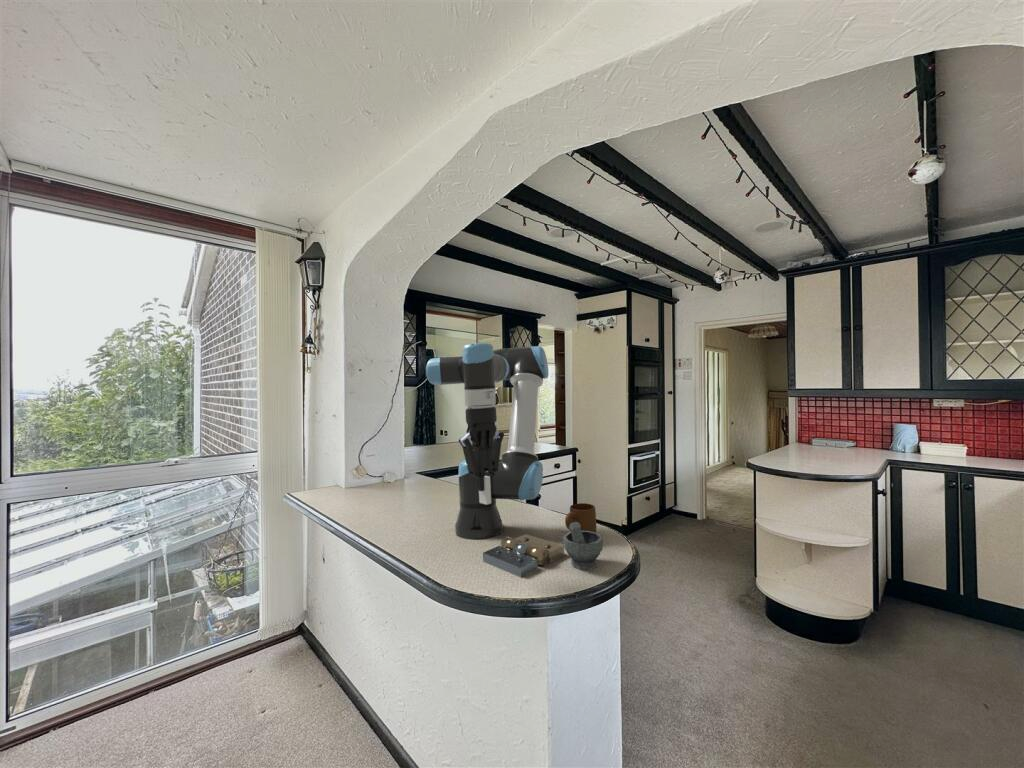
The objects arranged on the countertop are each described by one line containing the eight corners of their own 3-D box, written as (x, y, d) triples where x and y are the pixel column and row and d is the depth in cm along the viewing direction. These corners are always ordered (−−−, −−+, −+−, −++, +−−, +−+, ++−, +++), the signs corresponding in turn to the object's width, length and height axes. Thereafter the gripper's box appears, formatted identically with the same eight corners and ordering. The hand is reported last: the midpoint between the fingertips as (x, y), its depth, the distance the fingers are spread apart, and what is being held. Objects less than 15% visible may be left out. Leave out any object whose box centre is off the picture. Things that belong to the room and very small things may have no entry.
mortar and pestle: (573, 554, 110) (571, 509, 110) (607, 560, 105) (605, 513, 105) (556, 571, 100) (554, 522, 100) (594, 578, 95) (591, 527, 95)
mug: (578, 550, 112) (577, 516, 112) (556, 544, 117) (555, 511, 117) (601, 537, 121) (600, 505, 121) (580, 532, 126) (579, 501, 126)
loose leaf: (483, 562, 107) (482, 547, 107) (510, 549, 115) (509, 535, 114) (521, 578, 98) (520, 561, 98) (548, 563, 105) (547, 548, 105)
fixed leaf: (501, 553, 112) (500, 538, 112) (526, 542, 119) (525, 529, 119) (539, 567, 102) (538, 551, 102) (564, 555, 109) (563, 540, 109)
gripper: (469, 409, 93) (474, 512, 93) (510, 405, 102) (514, 499, 102) (449, 408, 98) (454, 506, 98) (490, 404, 107) (494, 494, 107)
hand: (485, 502), depth 100 cm, fingers closed
